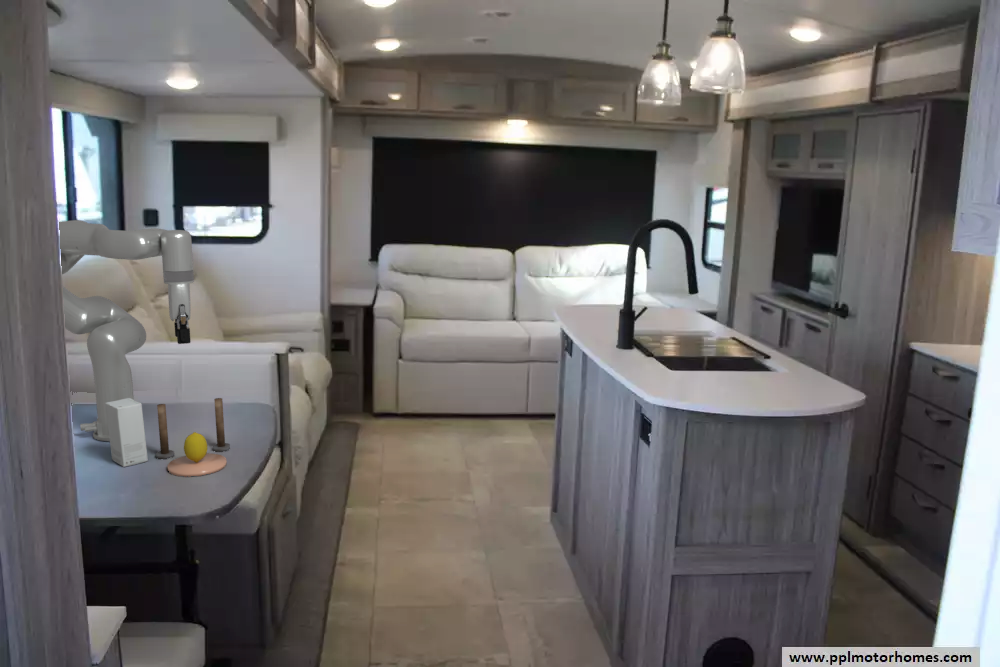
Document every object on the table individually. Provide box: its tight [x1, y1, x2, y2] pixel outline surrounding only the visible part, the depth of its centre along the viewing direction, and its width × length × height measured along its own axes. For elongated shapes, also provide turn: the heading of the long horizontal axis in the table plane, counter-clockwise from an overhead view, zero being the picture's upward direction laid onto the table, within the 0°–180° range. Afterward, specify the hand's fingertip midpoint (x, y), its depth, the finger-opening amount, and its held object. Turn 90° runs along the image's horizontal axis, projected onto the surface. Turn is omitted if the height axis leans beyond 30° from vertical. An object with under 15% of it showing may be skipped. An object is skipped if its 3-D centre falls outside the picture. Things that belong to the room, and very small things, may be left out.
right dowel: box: [212, 397, 231, 453], centre depth 219 cm, size 4×4×14 cm
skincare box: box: [105, 398, 149, 468], centre depth 209 cm, size 8×7×16 cm
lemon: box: [183, 431, 208, 463], centre depth 206 cm, size 6×6×8 cm
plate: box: [167, 452, 228, 478], centre depth 207 cm, size 14×14×1 cm
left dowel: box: [155, 403, 175, 460], centre depth 213 cm, size 4×4×14 cm
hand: (182, 339), depth 222 cm, fingers open, 9 cm apart
